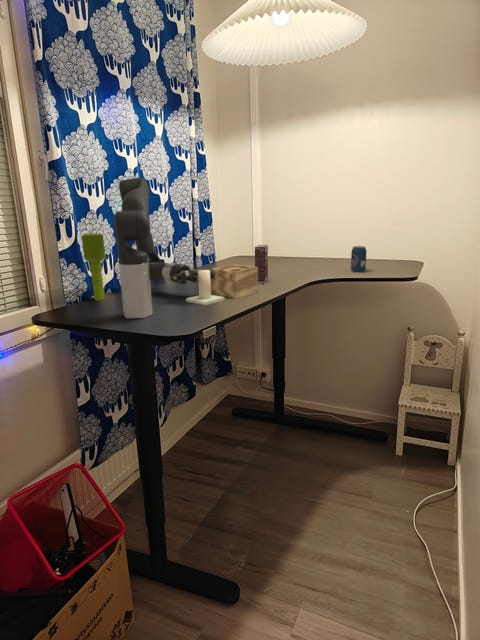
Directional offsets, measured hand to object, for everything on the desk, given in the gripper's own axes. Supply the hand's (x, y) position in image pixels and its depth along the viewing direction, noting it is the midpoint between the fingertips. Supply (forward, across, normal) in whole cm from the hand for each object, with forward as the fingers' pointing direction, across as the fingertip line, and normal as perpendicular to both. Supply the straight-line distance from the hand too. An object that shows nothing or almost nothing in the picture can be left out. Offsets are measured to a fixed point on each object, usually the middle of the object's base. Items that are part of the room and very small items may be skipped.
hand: (205, 277), depth 162 cm
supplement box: (-7, +40, +9) cm, 42 cm away
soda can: (+15, +87, +9) cm, 89 cm away
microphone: (-36, -22, +9) cm, 43 cm away
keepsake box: (-1, +16, +9) cm, 18 cm away
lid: (-1, 0, +9) cm, 9 cm away
